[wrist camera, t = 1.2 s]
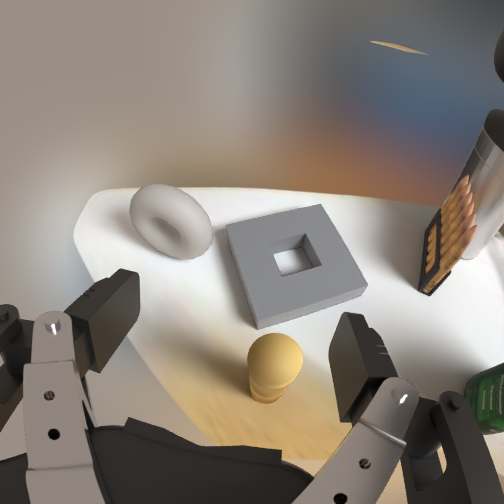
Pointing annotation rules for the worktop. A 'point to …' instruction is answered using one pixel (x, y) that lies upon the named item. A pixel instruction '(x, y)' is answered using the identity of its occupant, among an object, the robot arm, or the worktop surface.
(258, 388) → the dowel
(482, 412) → the coffee jar
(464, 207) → the ammunition clip
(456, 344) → the worktop surface
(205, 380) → the worktop surface
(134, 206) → the donut
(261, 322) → the socket block
